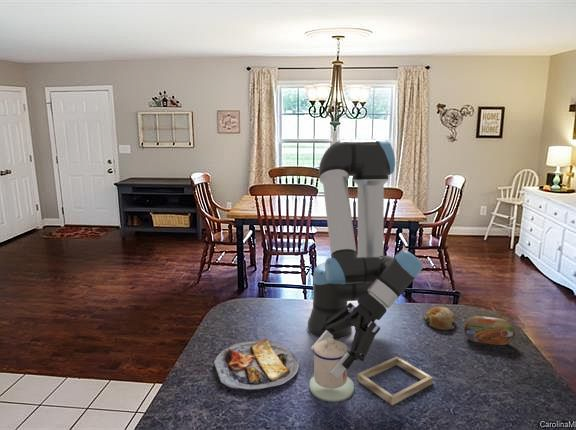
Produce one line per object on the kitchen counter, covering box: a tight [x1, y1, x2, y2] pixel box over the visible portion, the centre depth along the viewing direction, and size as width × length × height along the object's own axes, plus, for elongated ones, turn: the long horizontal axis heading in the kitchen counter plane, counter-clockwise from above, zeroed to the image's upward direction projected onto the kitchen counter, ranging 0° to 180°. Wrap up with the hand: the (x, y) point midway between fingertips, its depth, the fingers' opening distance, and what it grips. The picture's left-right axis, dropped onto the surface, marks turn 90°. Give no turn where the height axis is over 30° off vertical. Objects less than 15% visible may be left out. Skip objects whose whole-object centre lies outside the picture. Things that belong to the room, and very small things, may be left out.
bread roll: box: [423, 306, 456, 331], centre depth 154 cm, size 10×10×8 cm
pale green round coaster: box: [309, 375, 355, 403], centre depth 118 cm, size 12×12×1 cm
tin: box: [463, 315, 516, 346], centre depth 141 cm, size 15×3×8 cm, turn 73°
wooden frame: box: [356, 355, 434, 406], centre depth 120 cm, size 13×16×2 cm
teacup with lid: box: [312, 338, 349, 388], centre depth 115 cm, size 12×9×12 cm
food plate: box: [213, 338, 300, 391], centre depth 127 cm, size 25×23×4 cm
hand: (323, 362), depth 115 cm, fingers closed on teacup with lid, 12 cm apart
